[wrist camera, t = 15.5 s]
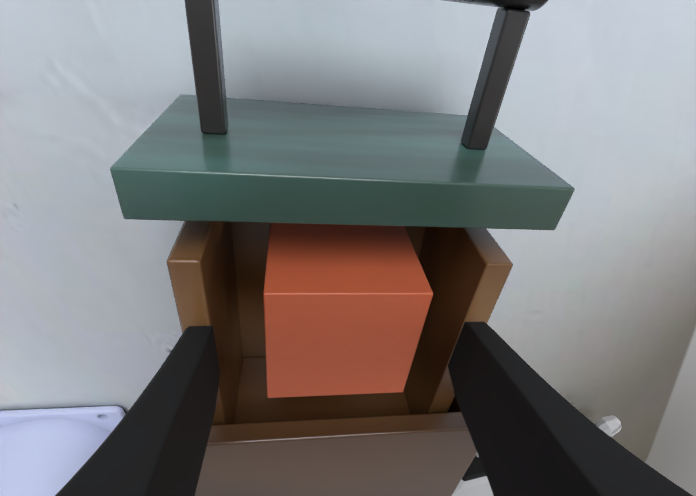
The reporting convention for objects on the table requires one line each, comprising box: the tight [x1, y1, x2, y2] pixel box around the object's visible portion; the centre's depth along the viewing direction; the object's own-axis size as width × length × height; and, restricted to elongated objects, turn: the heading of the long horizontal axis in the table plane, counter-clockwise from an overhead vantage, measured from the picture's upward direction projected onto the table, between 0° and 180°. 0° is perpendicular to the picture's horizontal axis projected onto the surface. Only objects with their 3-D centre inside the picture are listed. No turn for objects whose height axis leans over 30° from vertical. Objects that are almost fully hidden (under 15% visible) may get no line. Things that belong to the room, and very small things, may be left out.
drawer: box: [110, 0, 574, 425], centre depth 13 cm, size 17×10×6 cm, turn 174°
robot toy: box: [452, 415, 621, 496], centre depth 29 cm, size 12×4×15 cm
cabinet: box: [195, 396, 477, 496], centre depth 19 cm, size 13×11×7 cm
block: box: [263, 223, 433, 398], centre depth 13 cm, size 4×4×5 cm
